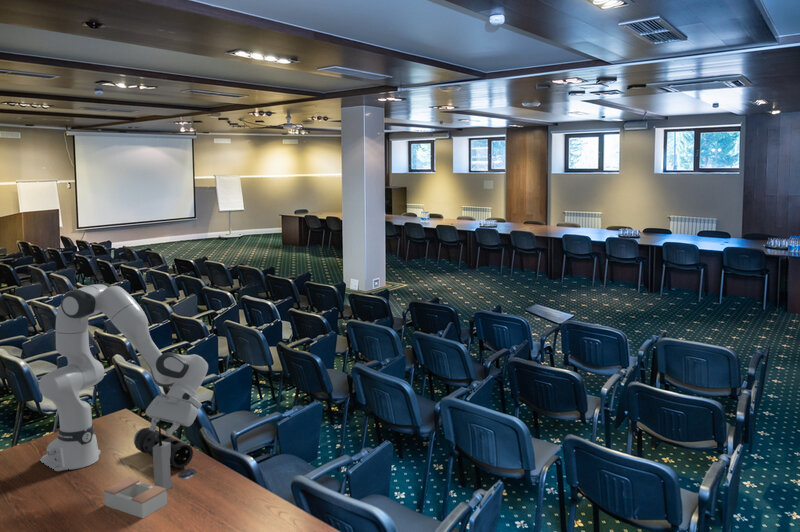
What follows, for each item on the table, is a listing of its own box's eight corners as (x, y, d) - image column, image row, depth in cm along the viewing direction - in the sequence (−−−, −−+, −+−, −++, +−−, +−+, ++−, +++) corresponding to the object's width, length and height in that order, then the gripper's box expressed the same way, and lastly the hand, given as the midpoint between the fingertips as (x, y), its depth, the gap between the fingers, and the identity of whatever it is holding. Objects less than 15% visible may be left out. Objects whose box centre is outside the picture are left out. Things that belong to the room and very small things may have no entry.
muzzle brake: (172, 474, 230) (171, 448, 229) (132, 454, 247) (131, 430, 246) (194, 465, 238) (193, 440, 236) (154, 447, 255) (153, 423, 253)
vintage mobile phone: (173, 487, 221) (169, 420, 217) (163, 493, 216) (160, 425, 213) (164, 485, 222) (161, 418, 219) (154, 491, 217) (151, 424, 214)
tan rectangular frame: (105, 505, 208) (104, 489, 207) (129, 492, 217) (128, 477, 216) (143, 518, 200) (142, 502, 199) (167, 504, 209) (166, 488, 208)
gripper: (154, 388, 225) (133, 423, 218) (195, 397, 216) (175, 434, 209) (164, 396, 230) (144, 431, 222) (205, 405, 221) (186, 441, 213)
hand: (159, 432), depth 216 cm, fingers open, 6 cm apart
